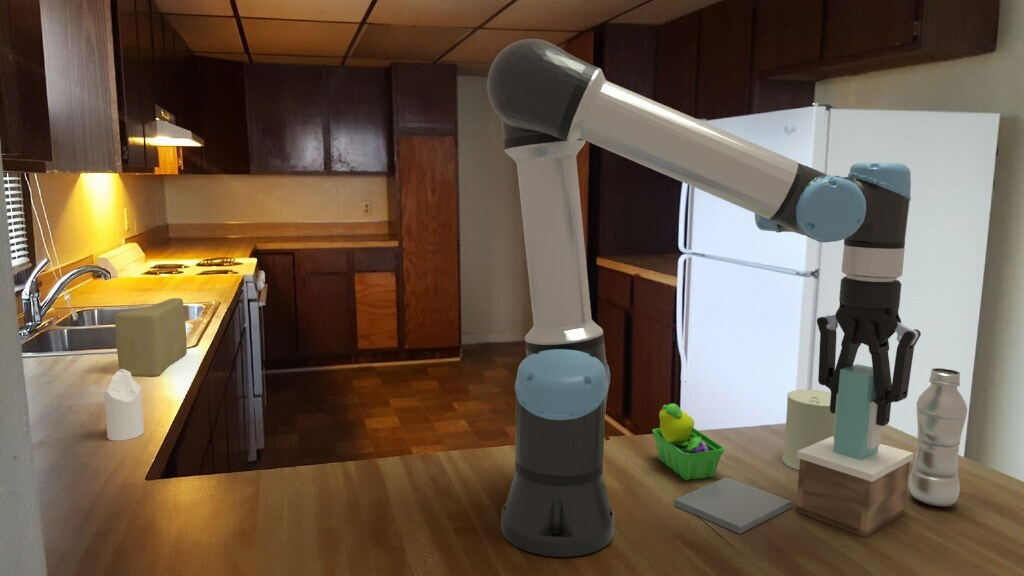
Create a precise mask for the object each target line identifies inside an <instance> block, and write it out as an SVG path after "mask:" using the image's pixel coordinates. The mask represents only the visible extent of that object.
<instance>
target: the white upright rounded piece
mask: <svg viewBox="0 0 1024 576" xmlns="http://www.w3.org/2000/svg"><path fill="white" fill-rule="evenodd" d="M142 394H143V393H142V388H141V386H140V384H139V383H138V382H136V381H135V379H134V378H133V376H131V372H129V371H127V370H125V369H120V370H119V369H118V370H117V371H116V372H114V375H113V376H111V379H110V382H109V383H108V386H107V387H106V388H105V391H104V393H103V399H104V400H103V401H104V409H105V420H106V432H107V433H106V434H107V439H108V440H109V441H114V442H118V441H119V442H121V441H128V440H133V439H136V438H139V437H140V436H142V435H143V434H144V432H145V431H144V430H145V429H144V426H145V425H144V411H143V410H144V409H143V396H142Z"/></svg>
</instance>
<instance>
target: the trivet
mask: <svg viewBox="0 0 1024 576" xmlns="http://www.w3.org/2000/svg"><path fill="white" fill-rule="evenodd" d="M792 505H793V501H792V500H790V499H787V498H784V497H782V496H778V495H776V494H774V493H771V492H768V491H765V490H762V489H760V488H758V487H754V486H751V485H749V484H746V483H744V482H740V481H738V480H735V479H733V478H729V477H727V476H726V477H724V478H722V479H719V480H717V481H714V482H712V483H709V484H707V485H705V486H703V487H700V488H698V489H695V490H692V491H690V492H688V493H686V494H683V495H681V496H679V497H676V498H674V499H673V506H674V507H675V508H678V509H681V510H684V511H685V512H687V513H690V514H692V515H695V516H697V517H700V518H702V519H704V520H706V521H708V522H711V523H714V524H716V525H718V526H721V527H723V528H725V529H727V530H730V531H732V532H735V533H737V534H738V535H741V534H743V533H745V532H747V531H749V530H751V529H752V528H753V529H754V528H755V527H757V526H759V525H761V524H763V523H764V522H766V521H768V520H770V519H772V518H774V517H776V516H778V515H780V514H782V513H784V512H786V511H788V510H790V509H792Z"/></svg>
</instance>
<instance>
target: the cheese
mask: <svg viewBox="0 0 1024 576" xmlns="http://www.w3.org/2000/svg"><path fill="white" fill-rule="evenodd" d="M114 323H115V324H114V326H115V343H116V352H117V363H118V371H119V370H120V369H125V370H127V371H129V372H131V376H132V377H158V376H160V375H161V374H162V373H163V372H164V371H165V370H167V368H168V367H169V366H171V365H172V364H174V363H175V362H178V361H179V360H180V359H182V358H183V357H185V356H186V355H187V353H188V352H187V351H188V350H187V349H188V348H187V345H188V343H187V341H188V339H187V327H186V326H187V325H186V316H185V308H184V300H183V298H179V297H176V298H175V297H174V298H169V299H166V300H163V301H162V302H158V303H155V304H152V305H149V306H146V307H142V308H139V309H133V310H127V311H122V312H119V313H116V314H115V315H114Z"/></svg>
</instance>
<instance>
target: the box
mask: <svg viewBox="0 0 1024 576" xmlns="http://www.w3.org/2000/svg"><path fill="white" fill-rule="evenodd" d="M910 462H911V461H910ZM910 462H908V463H906V464H904V465H902V466H900V467H899V468H897V469H895V470H893V471H891V472H889V473H887V474H886V475H884V476H882V477H880V478H878V479H876V480H874V481H873V482H871V481H868V480H865V479H862V478H859V477H856V476H852V475H849V474H846V473H843V472H840V471H837V470H834V469H831V468H827V467H824V466H821V465H818V464H815V463H812V462H809V461H806V460H802V459H800V466H799V470H798V478H797V479H798V480H797V494H796V506H795V511H796V512H797V513H800V514H803V515H805V516H808V517H810V518H814V519H816V520H818V521H822V523H823V522H824V523H826V524H830V525H831V526H834V527H838V528H840V529H843V530H845V531H847V532H850V533H853V534H855V535H858V536H861V537H863V538H867V537H869V536H870V535H871V534H873V533H875V532H876V531H878V530H880V529H881V528H883V527H885V526H887V525H888V524H889V523H891V522H892V521H894V520H895V519H896V520H897V518H898V517H901V516H902V515H903V514H905V512H906V505H907V503H906V501H907V495H908V494H907V492H908V485H909V472H910Z"/></svg>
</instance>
